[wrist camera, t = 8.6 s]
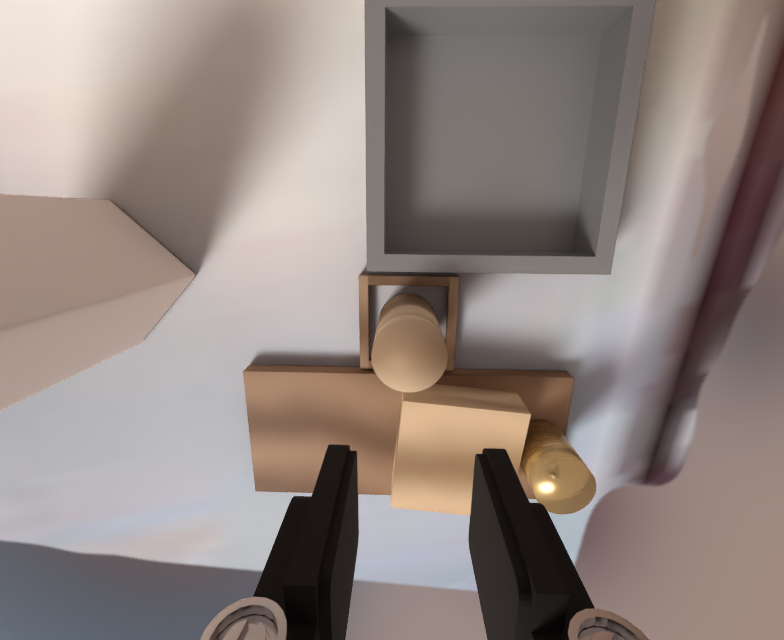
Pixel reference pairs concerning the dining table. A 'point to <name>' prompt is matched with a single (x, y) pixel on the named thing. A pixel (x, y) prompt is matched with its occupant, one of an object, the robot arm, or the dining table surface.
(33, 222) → the milk carton
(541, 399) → the board
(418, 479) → the thick square wood block
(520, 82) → the tray
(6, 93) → the dining table surface
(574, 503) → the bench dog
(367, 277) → the socket ring
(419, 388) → the dowel
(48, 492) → the dining table surface
